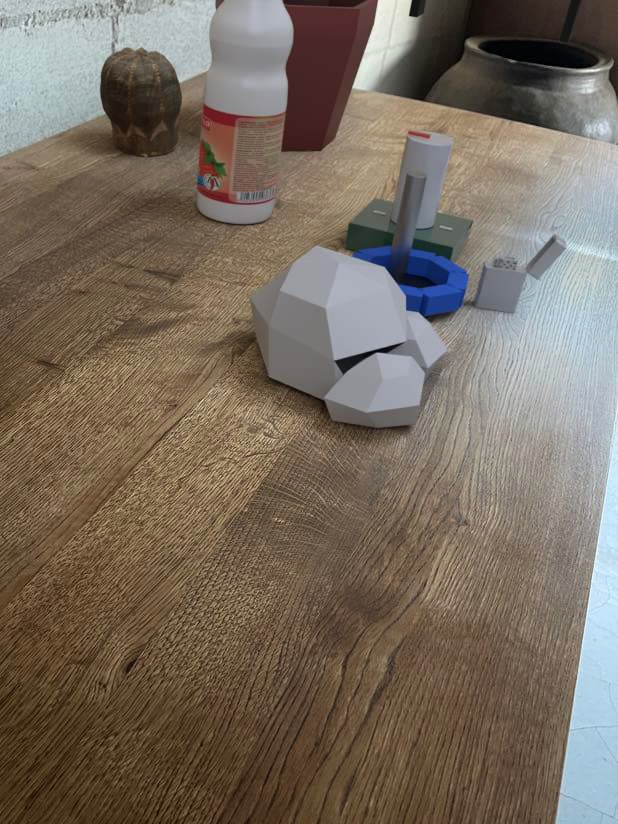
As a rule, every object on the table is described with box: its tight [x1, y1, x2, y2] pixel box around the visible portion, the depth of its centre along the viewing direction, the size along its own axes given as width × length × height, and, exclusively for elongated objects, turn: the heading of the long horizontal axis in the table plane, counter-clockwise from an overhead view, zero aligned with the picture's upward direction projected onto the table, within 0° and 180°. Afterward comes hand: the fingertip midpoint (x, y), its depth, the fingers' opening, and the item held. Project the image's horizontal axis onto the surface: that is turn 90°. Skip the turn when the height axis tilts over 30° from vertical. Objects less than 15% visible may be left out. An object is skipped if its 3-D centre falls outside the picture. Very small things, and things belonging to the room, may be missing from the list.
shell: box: [99, 46, 183, 158], centre depth 124 cm, size 11×11×12 cm
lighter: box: [473, 233, 568, 314], centre depth 93 cm, size 7×2×8 cm, turn 80°
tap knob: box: [391, 129, 455, 229], centre depth 102 cm, size 5×5×9 cm
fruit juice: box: [195, 0, 294, 225], centre depth 102 cm, size 9×9×28 cm
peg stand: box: [387, 170, 438, 317], centre depth 93 cm, size 9×9×12 cm
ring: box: [351, 246, 470, 317], centre depth 94 cm, size 12×12×2 cm
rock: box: [249, 245, 449, 429], centre depth 78 cm, size 18×20×10 cm
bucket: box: [214, 0, 379, 152], centre depth 129 cm, size 24×22×25 cm
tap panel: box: [344, 197, 474, 264], centre depth 105 cm, size 12×10×3 cm
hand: (489, 27), depth 83 cm, fingers open, 13 cm apart
